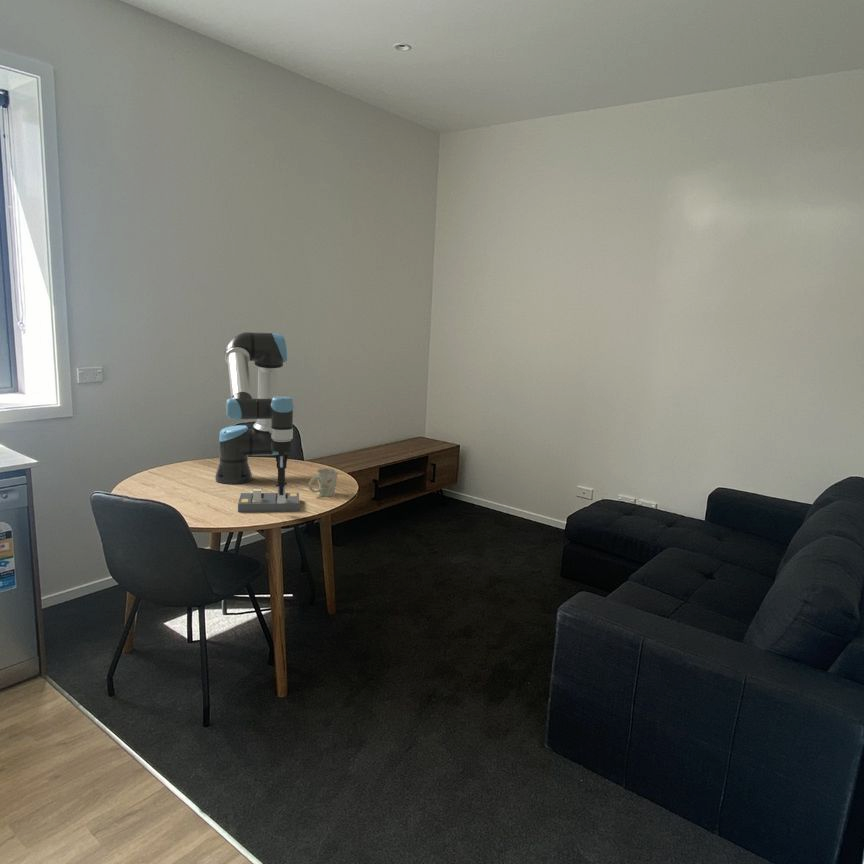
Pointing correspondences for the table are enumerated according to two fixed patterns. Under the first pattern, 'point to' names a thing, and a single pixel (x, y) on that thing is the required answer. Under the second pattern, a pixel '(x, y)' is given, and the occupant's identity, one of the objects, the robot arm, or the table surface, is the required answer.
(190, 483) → the table surface
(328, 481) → the mug
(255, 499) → the tab
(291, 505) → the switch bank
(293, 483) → the table surface
